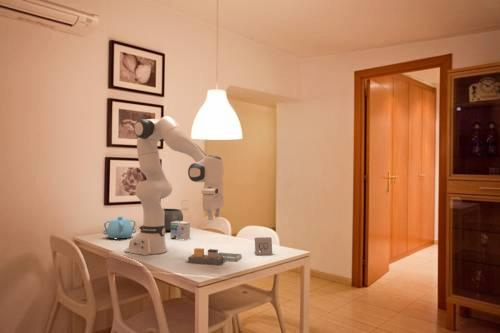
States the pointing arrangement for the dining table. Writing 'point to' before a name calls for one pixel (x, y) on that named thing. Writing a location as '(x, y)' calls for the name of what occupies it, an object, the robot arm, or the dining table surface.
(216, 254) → the fuse
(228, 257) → the parts tray
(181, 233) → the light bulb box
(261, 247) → the electrical switch
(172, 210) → the dark gray rounded block
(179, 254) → the dining table surface
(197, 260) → the fuse block
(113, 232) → the decorative pot
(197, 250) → the fuse
